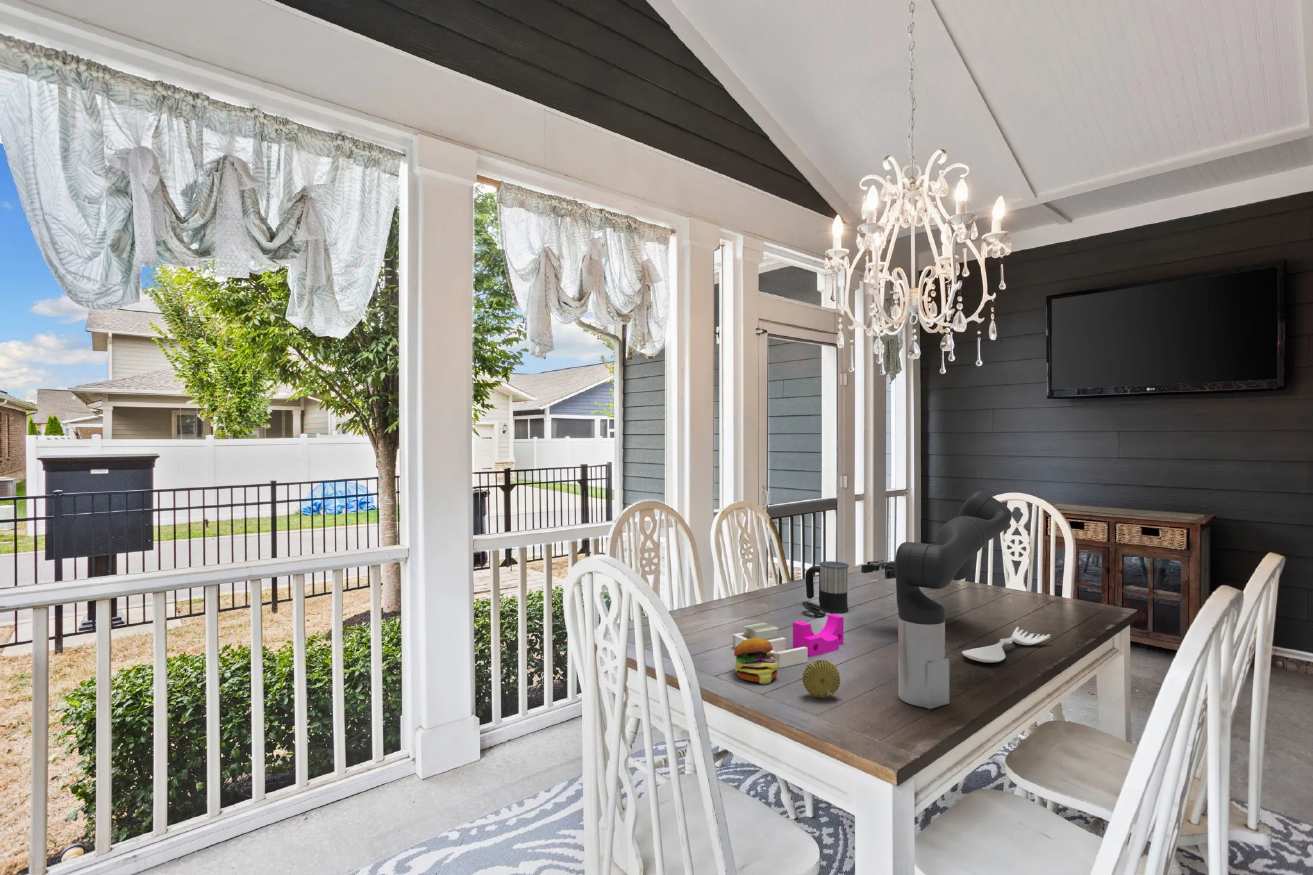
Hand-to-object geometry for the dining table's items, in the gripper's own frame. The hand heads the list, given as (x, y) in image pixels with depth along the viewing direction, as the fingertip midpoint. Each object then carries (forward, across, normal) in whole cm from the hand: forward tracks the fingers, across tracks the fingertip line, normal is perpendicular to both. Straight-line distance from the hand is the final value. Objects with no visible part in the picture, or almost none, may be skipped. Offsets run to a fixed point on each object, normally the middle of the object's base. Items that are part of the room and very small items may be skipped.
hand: (873, 571), depth 180 cm
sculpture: (+40, +23, +20) cm, 50 cm away
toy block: (+17, -2, +19) cm, 26 cm away
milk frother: (-8, -28, +19) cm, 35 cm away
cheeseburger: (+45, +6, +20) cm, 49 cm away
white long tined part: (-22, +24, +19) cm, 37 cm away
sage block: (+32, -9, +19) cm, 38 cm away
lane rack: (+32, -4, +19) cm, 38 cm away
